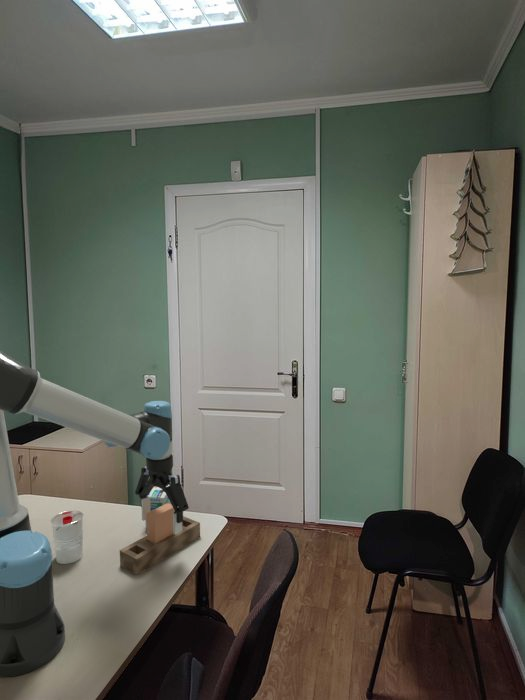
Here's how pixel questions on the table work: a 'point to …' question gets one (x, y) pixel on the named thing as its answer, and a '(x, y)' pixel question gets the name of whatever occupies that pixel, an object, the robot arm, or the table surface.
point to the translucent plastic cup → (68, 536)
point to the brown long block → (157, 548)
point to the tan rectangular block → (160, 523)
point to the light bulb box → (157, 499)
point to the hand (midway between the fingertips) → (161, 525)
